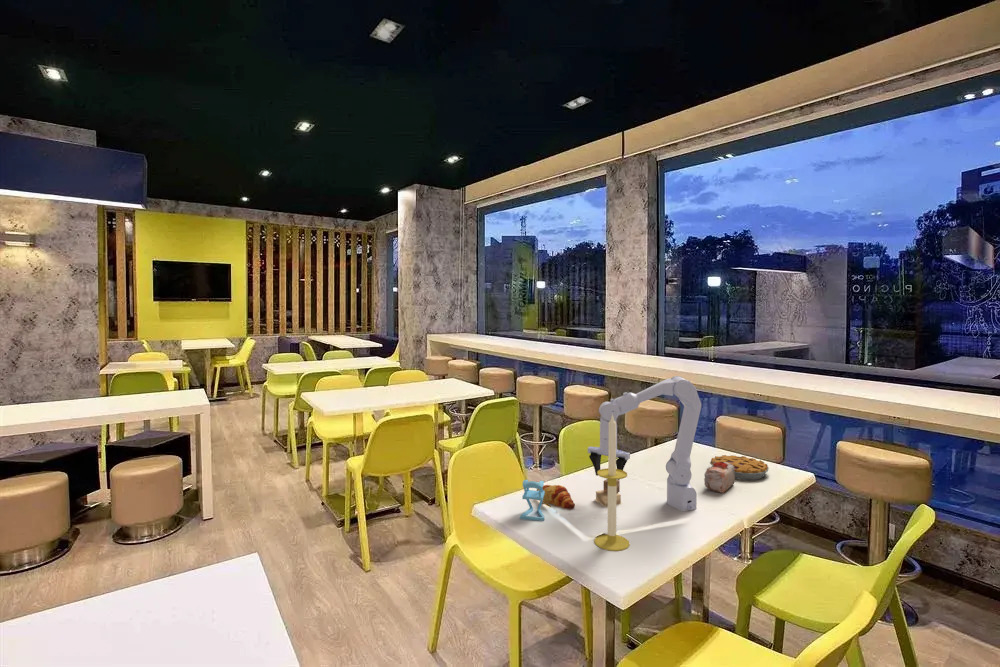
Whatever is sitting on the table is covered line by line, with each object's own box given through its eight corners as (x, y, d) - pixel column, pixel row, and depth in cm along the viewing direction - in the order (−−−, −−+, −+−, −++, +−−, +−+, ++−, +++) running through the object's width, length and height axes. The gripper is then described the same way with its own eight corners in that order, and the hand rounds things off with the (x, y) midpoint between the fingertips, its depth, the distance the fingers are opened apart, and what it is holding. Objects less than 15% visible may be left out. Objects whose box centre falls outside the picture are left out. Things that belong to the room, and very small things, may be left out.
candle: (624, 534, 149) (624, 410, 147) (634, 550, 139) (635, 417, 137) (590, 535, 149) (591, 410, 147) (598, 551, 139) (599, 417, 137)
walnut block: (619, 491, 172) (619, 480, 172) (614, 495, 169) (614, 483, 169) (608, 489, 175) (609, 477, 175) (603, 492, 172) (603, 480, 172)
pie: (774, 471, 206) (775, 459, 206) (760, 485, 190) (760, 472, 190) (719, 461, 221) (720, 450, 221) (701, 473, 205) (702, 461, 204)
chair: (546, 511, 167) (546, 475, 167) (544, 521, 159) (543, 483, 159) (524, 509, 169) (524, 474, 168) (520, 519, 161) (519, 482, 160)
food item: (725, 495, 180) (725, 468, 180) (702, 490, 185) (702, 464, 185) (736, 485, 190) (736, 459, 190) (714, 480, 196) (715, 455, 195)
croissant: (531, 504, 182) (522, 486, 180) (551, 486, 187) (542, 469, 185) (567, 524, 164) (558, 505, 162) (588, 504, 168) (579, 485, 166)
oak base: (620, 503, 170) (620, 494, 169) (605, 506, 168) (605, 497, 167) (610, 497, 175) (610, 489, 175) (595, 499, 173) (596, 491, 173)
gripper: (633, 437, 169) (633, 477, 170) (593, 432, 178) (593, 469, 178) (625, 442, 164) (625, 483, 164) (585, 436, 172) (585, 475, 173)
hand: (608, 476), depth 171 cm, fingers open, 7 cm apart
